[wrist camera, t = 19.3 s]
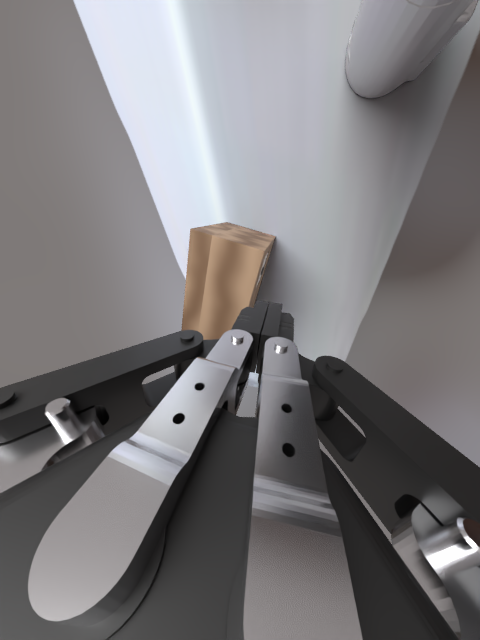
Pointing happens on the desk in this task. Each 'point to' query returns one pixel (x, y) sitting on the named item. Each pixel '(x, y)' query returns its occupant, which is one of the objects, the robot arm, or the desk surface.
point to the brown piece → (222, 276)
